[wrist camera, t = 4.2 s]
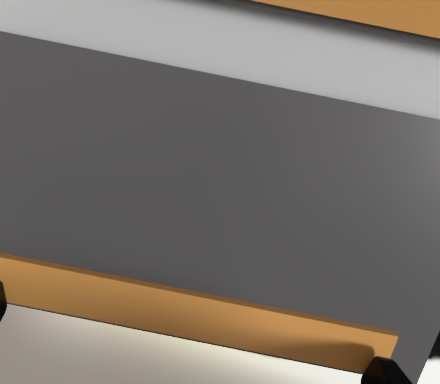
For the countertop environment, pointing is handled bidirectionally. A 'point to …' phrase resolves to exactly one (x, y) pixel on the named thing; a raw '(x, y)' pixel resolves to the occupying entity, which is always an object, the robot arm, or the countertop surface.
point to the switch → (217, 208)
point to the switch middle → (368, 14)
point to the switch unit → (246, 46)
